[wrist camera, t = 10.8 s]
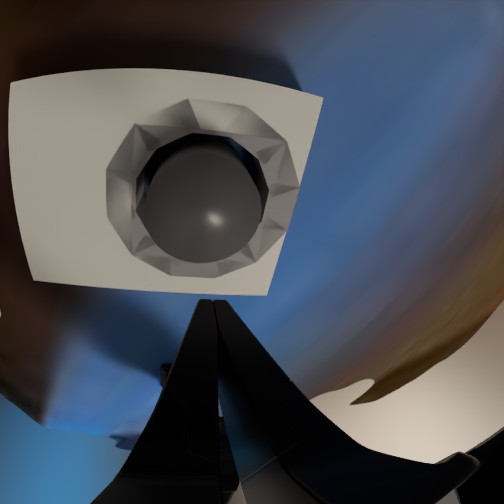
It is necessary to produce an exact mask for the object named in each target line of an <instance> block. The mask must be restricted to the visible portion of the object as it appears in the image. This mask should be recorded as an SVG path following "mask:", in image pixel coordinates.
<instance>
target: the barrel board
mask: <svg viewBox="0 0 504 504" xmlns="http://www.w3.org/2000/svg"><path fill="white" fill-rule="evenodd" d="M322 102H323V98H322V97H319V96H316V95H312V94H309V93H305V92H302V91H298V90H294V89H290V88H286V87H282V86H278V85H274V84H269V83H265V82H260V81H255V80H250V79H244V78H239V77H233V76H226V75H219V74H212V73H204V72H195V71H184V70H170V69H144V68H124V69H99V70H86V71H75V72H67V73H59V74H52V75H46V76H40V77H35V78H30V79H25V80H20V81H16V82H12V83H11V85H10V97H9V156H10V169H11V179H12V187H13V195H14V201H15V207H16V213H17V218H18V223H19V228H20V233H21V237H22V241H23V245H24V249H25V253H26V257H27V260H28V264H29V267H30V271H31V274H32V277H33V280H36V281H45V282H53V283H62V284H72V285H82V286H93V287H104V288H116V289H129V290H143V291H159V292H177V293H198V294H224V295H267V293H268V290H269V286H270V283H271V280H272V277H273V274H274V270H275V267H276V264H277V261H278V257H279V254H280V251H281V248H282V244H283V241H284V238H285V234H286V232H287V230H288V227H289V223H290V220H291V217H292V213H293V210H294V206H295V203H296V200H297V196H298V193H299V189H300V183H301V179H302V176H303V172H304V169H305V165H306V162H307V158H308V154H309V151H310V147H311V143H312V140H313V136H314V132H315V128H316V125H317V121H318V117H319V113H320V109H321V106H322ZM190 133H200V134H209V135H218V136H226V137H231V138H232V139H234V140H235V141H236V142H237V143H239V144H240V145H241V146H242V147H244V148H245V149H246V150H248V151H249V152H250V153H251V154H252V157H253V160H254V163H255V166H256V168H257V171H258V178H257V183H256V187H257V189H258V192H259V195H260V199H261V206H262V211H261V219H260V223H259V226H258V228H257V230H256V232H255V234H254V236H253V237H252V239H251V240H250V241H249V242H248V243H247V244H246V245H245V246H244V247H243V248H242V249H241V250H239V251H238V252H237V253H235V254H233V255H232V256H230V257H228V258H225V259H223V260H220V261H216V262H211V263H190V262H186V261H182V260H179V259H176V258H174V257H172V256H170V255H168V254H167V253H165V252H164V251H163V250H162V249H160V248H159V247H158V246H157V245H156V244H155V242H154V241H153V240H152V238H151V237H150V235H149V233H148V231H147V228H146V225H145V221H144V211H143V210H144V202H145V198H146V195H145V193H144V174H145V165H146V163H147V162H148V160H149V159H150V157H151V156H152V154H153V153H154V152H155V150H156V149H157V148H159V147H161V146H163V145H165V144H167V143H170V142H172V141H174V140H176V139H179V138H181V137H183V136H185V135H188V134H190Z"/></svg>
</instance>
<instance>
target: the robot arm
mask: <svg viewBox="0 0 504 504" xmlns="http://www.w3.org/2000/svg"><path fill="white" fill-rule="evenodd" d="M161 377H162V385H163V389H162V392H161V394H160V397H159V399H158V401H157V404H156V406H155V408H154V411H153V413H152V415H151V417H150V419H149V421H148V423H147V425H146V426H145V428H144V430H143V432H142V434H141V435H140V437H139V439H138V441H137V442H136V444H135V446H134V448H133V449H132V451H131V453H130V455H129V457H128V459H127V460H126V462H125V464H124V465H123V467H122V468H121V470H120V471H119V473H118V474H117V475H116V477H115V478H114V480H113V481H112V482H111V483H110V484H109V485H108V486H107V487H106V488H105V489H104V490H103V491H102V492H101V494H100V495H98V496H97V497H96V499H94V500H93V501H92V502H91V504H228V503H229V501H230V499H231V497H232V495H233V493H234V491H236V490H237V488H238V485H239V482H241V486H242V489H243V493H244V496H245V499H246V502H247V504H504V427H503V428H501V429H500V430H499V431H497V432H496V433H494V434H493V435H492V436H490V437H489V438H487V439H486V440H485V441H483V442H481V443H480V444H478V445H477V446H475V447H474V448H472V449H470V450H469V451H467V452H465V453H462V452H456V453H454V454H452V455H450V456H448V457H446V458H444V459H443V460H441V461H439V462H437V463H435V464H429V463H423V462H418V461H413V460H409V459H404V458H400V457H396V456H392V455H388V454H384V453H380V452H377V451H374V450H371V449H368V448H366V447H364V446H362V445H361V444H359V443H357V442H356V441H355V440H353V439H352V438H351V437H350V436H348V435H347V434H346V433H345V432H344V431H342V430H341V429H340V428H339V427H338V426H337V425H335V424H334V423H333V422H332V421H331V420H330V419H328V418H327V417H326V416H325V415H324V414H323V413H322V412H321V411H320V410H319V409H317V408H316V407H315V406H314V405H313V404H312V403H311V402H310V401H309V400H308V399H307V398H306V396H305V395H304V394H303V393H302V392H301V391H300V390H299V389H298V388H297V386H296V385H295V384H294V383H293V382H292V381H290V378H289V377H288V376H287V375H286V374H285V372H284V371H283V370H282V369H281V368H280V366H279V365H278V364H277V363H276V362H275V360H274V359H273V358H272V357H271V356H270V354H269V353H268V352H267V351H266V350H265V348H264V347H263V346H262V345H261V343H260V342H259V341H258V340H257V338H256V337H255V336H254V335H253V333H252V332H251V331H250V330H249V328H248V327H247V326H246V325H245V323H244V322H243V321H242V320H241V318H240V317H239V316H238V314H237V313H236V312H235V311H234V309H233V308H232V307H231V305H230V304H229V303H228V302H227V301H226V300H213V301H212V300H211V299H200V300H199V301H198V303H197V305H196V308H195V310H194V312H193V315H192V317H191V320H190V322H189V324H188V327H187V329H186V332H185V334H184V337H183V339H182V342H181V344H180V346H179V349H178V351H177V354H176V356H175V359H174V361H173V364H172V365H161ZM218 397H219V401H220V405H221V410H222V414H223V417H219V409H218ZM239 479H240V481H239Z"/></svg>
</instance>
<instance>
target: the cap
mask: <svg viewBox="0 0 504 504" xmlns="http://www.w3.org/2000/svg"><path fill="white" fill-rule="evenodd" d="M143 211H144V221H145V225H146V228H147V231H148V233H149V235H150V237H151V238H152V240H153V241H154V242H155V244H156V245H157V246H158V247H159V248H160V249H162V250H163V251H164V252H165V253H167V254H168V255H170V256H172V257H174V258H176V259H179V260H182V261H186V262H190V263H211V262H216V261H220V260H223V259H225V258H228V257H230V256H232V255H233V254H235V253H237V252H238V251H239V250H241V249H242V248H243V247H244V246H245V245H246V244H247V243H248V242H249V241H250V240H251V239H252V237H253V236H254V234H255V232H256V230H257V228H258V226H259V223H260V219H261V211H262V206H261V199H260V195H259V192H258V189H257V187H256V185H255V183H254V182H253V180H252V178H251V176H250V174H249V173H248V171H247V169H246V167H245V166H244V164H243V162H242V160H241V159H240V157H239V155H238V154H237V153H236V152H235V150H233V149H232V148H231V147H230V146H229V145H227V144H226V143H224V142H222V141H220V140H217V139H214V138H209V137H195V138H190V139H187V140H184V141H182V142H180V143H178V144H176V145H175V146H173V147H172V148H171V149H170V150H168V151H167V153H166V154H165V155H164V156H163V158H162V159H161V161H160V163H159V165H158V168H157V170H156V172H155V175H154V177H153V180H152V182H151V185H150V187H149V190H148V192H147V195H146V198H145V202H144V210H143Z"/></svg>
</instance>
